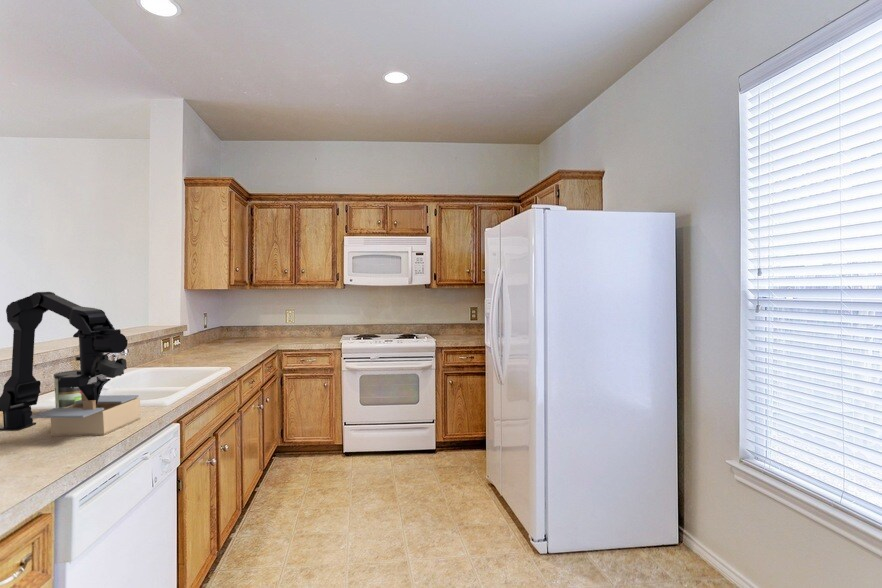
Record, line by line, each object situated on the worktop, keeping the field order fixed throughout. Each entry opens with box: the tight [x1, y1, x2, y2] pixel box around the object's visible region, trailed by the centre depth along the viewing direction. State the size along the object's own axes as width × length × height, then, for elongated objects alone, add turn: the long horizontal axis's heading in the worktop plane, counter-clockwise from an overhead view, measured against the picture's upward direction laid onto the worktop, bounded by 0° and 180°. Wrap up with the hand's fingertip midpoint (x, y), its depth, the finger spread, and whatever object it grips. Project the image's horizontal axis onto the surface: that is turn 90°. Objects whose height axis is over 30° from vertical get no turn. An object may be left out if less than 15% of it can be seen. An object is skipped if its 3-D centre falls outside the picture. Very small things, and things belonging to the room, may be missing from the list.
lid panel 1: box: [31, 400, 104, 419], centre depth 138 cm, size 15×8×3 cm, turn 87°
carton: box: [50, 397, 142, 437], centre depth 149 cm, size 16×16×7 cm
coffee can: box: [53, 369, 83, 408], centre depth 166 cm, size 10×10×14 cm
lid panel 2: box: [74, 393, 140, 404], centre depth 153 cm, size 15×8×3 cm, turn 87°
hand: (94, 404), depth 142 cm, fingers closed
